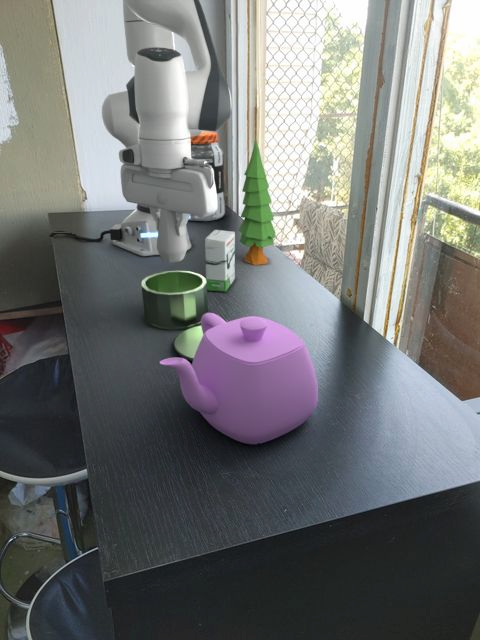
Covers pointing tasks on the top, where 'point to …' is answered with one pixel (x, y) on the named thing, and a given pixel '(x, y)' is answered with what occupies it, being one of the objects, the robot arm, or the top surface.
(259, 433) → the teapot
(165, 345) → the top surface
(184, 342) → the lid
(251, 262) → the decorative tree
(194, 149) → the supplement tub
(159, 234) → the salt shaker
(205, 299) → the bowl
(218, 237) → the ink box
